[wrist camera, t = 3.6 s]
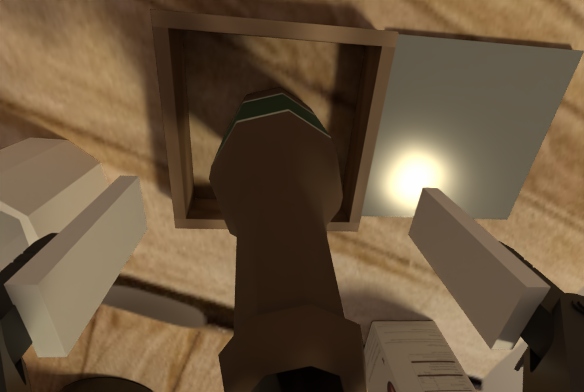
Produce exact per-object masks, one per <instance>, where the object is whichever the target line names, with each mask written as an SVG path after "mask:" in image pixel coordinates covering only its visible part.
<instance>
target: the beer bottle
mask: <svg viewBox="0 0 584 392" xmlns="http://www.w3.org/2000/svg"><path fill="white" fill-rule="evenodd" d="M209 180H210V183H211V185H212V188H213V191H214V194H215V196H216V199H217V202H218V205H219V207H220V210H221V213H222V215H223V218H224V221H225V223H226V226H227V228H228V230H229V232H230V234H232V235H234V236H236V237H237V246H236V278H235V309H234V336H233V337H232V338H231V340H230V341H229V342H228V343H227V345H226V346H225V347H224V349H223V350H222V351H221V352H220V354H219V355H218V356H219V362H220V368H221V374H222V380H223V386H224V392H367V388H366V361H365V354H364V348H363V341H362V334H361V327H360V325H359V324H357V323H354V322H352V321H350V320H347V319H345V317H344V313H343V308H342V304H341V299H340V295H339V290H338V285H337V281H336V276H335V272H334V267H333V262H332V258H331V253H330V249H329V244H328V240H327V225H328V223H329V222H330V221H331V220H332V218H333V217H334V216H335V215H336V213H337V212H338V211H339V210H340V207H341V203H342V199H343V193H342V186H341V179H340V172H339V165H338V158H337V151H336V148H335V145H334V143H333V140H332V138H331V137H330V135H329V134H328V133H327V131H326V130H325V128H324V127H323V125H322V124H321V122H320V121H319V120H318V118H317V117H316V115H315V114H314V112H313V111H312V110H311V108H309V107H308V106H307V105H306V104H304V103H303V102H301V101H300V100H298V99H297V98H295V97H294V96H292V95H291V94H289V93H288V92H286V91H285V90H283V89H282V88H280V87H278V88H274V89H269V90H265V91H261V92H256V93H252V94H248V95H246V97H245V98H244V100H243V102H242V103H241V105H240V107H239V109H238V110H237V112H236V114H235V116H234V118H233V119H232V121H231V123H230V125H229V126H228V128H227V131H226V133H225V135H224V138H223V140H222V142H221V145H220V147H219V149H218V152H217V154H216V157H215V159H214V161H213V164H212V166H211V171H210V176H209Z"/></svg>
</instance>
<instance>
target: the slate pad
mask: <svg viewBox="0 0 584 392" xmlns="http://www.w3.org/2000/svg"><path fill="white" fill-rule="evenodd" d="M583 52H584V51H579V50H568V49H557V48H546V47H535V46H524V45H513V44H502V43H491V42H480V41H468V40H457V39H446V38H435V37H424V36H413V35H402V34H398V38H397V42H396V47H395V52H394V57H393V62H392V67H391V72H390V77H389V82H388V86H387V91H386V96H385V101H384V106H383V111H382V116H381V121H380V126H379V131H378V135H377V140H376V145H375V150H374V155H373V160H372V165H371V170H370V175H369V179H368V184H367V189H366V194H365V199H364V204H363V209H362V214H361V216H382V217H414V214H415V211H416V208H417V204H418V201H419V198H420V195H421V191H422V188H423V187H428V188H438V189H440V190H441V191H442V192H443V193H444V194H445V195H446V196H448V197H449V198H450V199H451V200H452V201H453V202H454V203H456V204H457V205H458V206H459V207H460V208H461V209H462V210H464V211H465V212H466V213H467V214H468V215H469V216H470V217H471V218H473V219H508V217H509V214H510V212H511V210H512V208H513V206H514V203H515V201H516V199H517V197H518V195H519V193H520V190H521V188H522V186H523V184H524V182H525V179H526V177H527V175H528V173H529V171H530V168H531V166H532V164H533V162H534V160H535V157H536V155H537V153H538V151H539V149H540V147H541V144H542V142H543V140H544V138H545V136H546V133H547V131H548V129H549V127H550V125H551V122H552V120H553V118H554V116H555V114H556V111H557V109H558V107H559V105H560V103H561V100H562V98H563V96H564V94H565V92H566V90H567V87H568V85H569V83H570V81H571V79H572V76H573V74H574V72H575V70H576V68H577V65H578V63H579V61H580V59H581V57H582V54H583Z"/></svg>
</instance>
